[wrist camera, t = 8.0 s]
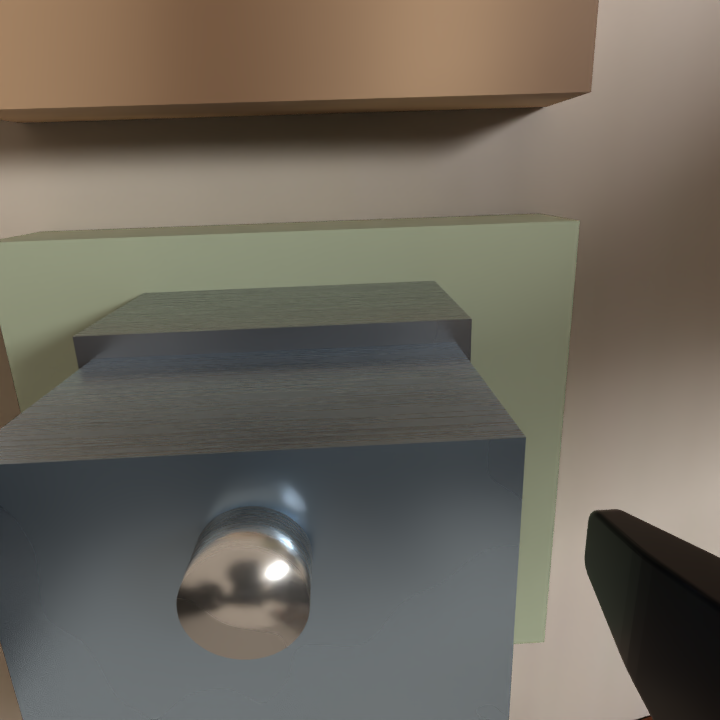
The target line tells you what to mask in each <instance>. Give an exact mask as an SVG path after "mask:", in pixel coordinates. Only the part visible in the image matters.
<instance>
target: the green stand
mask: <svg viewBox="0 0 720 720" xmlns="http://www.w3.org/2000/svg"><path fill="white" fill-rule="evenodd" d="M579 225H580V221H578V220H573V219H567V218H562V217H556V216H550V215H545V214H514V215H487V216H459V217H432V218H404V219H377V220H350V221H322V222H295V223H267V224H240V225H212V226H185V227H158V228H130V229H103V230H75V231H48V232H37V233H31V234H26V235H21V236H15V237H10V238H4V239H0V326H1V331H2V335H3V339H4V343H5V348H6V352H7V356H8V360H9V365H10V369H11V373H12V377H13V382H14V386H15V390H16V394H17V399H18V403H19V407H20V411H21V413H22V412H23V411H25V410H26V409H27V408H29V407H30V406H31V405H33V404H34V403H35V402H37V401H38V400H39V399H41V398H42V397H43V396H45V395H46V394H47V393H49V392H50V391H51V390H53V389H54V388H55V387H57V386H58V385H59V384H61V383H62V382H63V381H64V380H66V379H67V378H68V377H70V376H71V375H72V374H74V373H75V372H76V371H78V370H79V368H78V362H77V357H76V352H75V347H74V342H73V336H74V335H76V334H78V333H79V332H81V331H83V330H84V329H86V328H87V327H89V326H91V325H92V324H94V323H96V322H97V321H99V320H101V319H102V318H104V317H105V316H107V315H109V314H110V313H112V312H114V311H115V310H117V309H119V308H120V307H122V306H123V305H125V304H127V303H128V302H130V301H132V300H133V299H135V298H137V297H138V296H140V295H141V294H143V293H154V292H178V291H201V290H225V289H249V288H273V287H296V286H320V285H344V284H367V283H391V282H415V281H435V282H436V283H437V284H438V285H439V286H440V287H441V288H442V289H443V290H444V291H445V292H446V293H447V294H448V295H449V296H450V297H451V298H452V299H453V300H454V301H455V302H456V303H457V304H458V305H459V306H460V307H461V308H462V309H463V310H464V311H465V312H466V313H467V314H468V316H469V317H470V318H471V319H472V331H471V364H472V365H473V366H474V368H475V369H476V370H477V372H478V373H479V374H480V376H481V377H482V378H483V380H484V381H485V383H486V384H487V385H488V387H489V388H490V389H491V391H492V392H493V393H494V395H495V396H496V397H497V399H498V400H499V401H500V403H501V404H502V406H503V407H504V408H505V410H506V411H507V412H508V414H509V415H510V416H511V418H512V419H513V420H514V422H515V423H516V424H517V426H518V427H519V429H520V430H521V431H522V433H523V434H524V435H525V437H526V447H525V463H524V480H523V496H522V512H521V528H520V545H519V561H518V577H517V594H516V610H515V626H514V642H513V644H523V643H540V642H544V638H545V626H546V614H547V602H548V591H549V579H550V567H551V555H552V543H553V532H554V520H555V508H556V496H557V485H558V473H559V461H560V449H561V437H562V426H563V414H564V402H565V390H566V379H567V367H568V355H569V343H570V331H571V320H572V308H573V296H574V284H575V273H576V261H577V249H578V237H579Z"/></svg>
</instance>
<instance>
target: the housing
mask: <svg viewBox="0 0 720 720" xmlns="http://www.w3.org/2000/svg"><path fill="white" fill-rule="evenodd" d="M471 331H472V319H471V318H470V317H469V316H468V314H467V313H466V312H465V311H464V310H463V309H462V308H461V307H460V306H459V305H458V304H457V303H456V302H455V301H454V300H453V299H452V298H451V297H450V296H449V295H448V294H447V293H446V292H445V291H444V290H443V289H442V288H441V287H440V286H439V285H438V284H437V283H436V282H435V281H415V282H391V283H367V284H344V285H320V286H296V287H273V288H249V289H225V290H201V291H178V292H154V293H143V294H141V295H140V296H138V297H137V298H135V299H133V300H132V301H130V302H128V303H127V304H125V305H123V306H122V307H120V308H119V309H117V310H115V311H114V312H112V313H110V314H109V315H107V316H105V317H104V318H102V319H101V320H99V321H97V322H96V323H94V324H92V325H91V326H89V327H87V328H86V329H84V330H83V331H81V332H79V333H78V334H76V335H74V336H73V342H74V347H75V352H76V357H77V362H78V368H79V370H78V371H76V372H75V373H74V374H72V375H71V376H70V377H68V378H67V379H66V380H64V381H63V382H62V383H61V384H59V385H58V386H57V387H55V388H54V389H53V390H51V391H50V392H49V393H47V394H46V395H45V396H43V397H42V398H41V399H39V400H38V401H37V402H35V403H34V404H33V405H31V406H30V407H29V408H27V409H26V410H25V411H23V412H22V413H21V414H19V415H18V416H17V417H16V418H14V419H13V420H12V421H10V422H9V423H8V424H6V425H5V426H4V427H2V428H1V429H0V642H1V645H2V649H3V652H4V656H5V659H6V663H7V666H8V670H9V673H10V677H11V680H12V684H13V687H14V690H15V694H16V697H17V701H18V704H19V708H20V711H21V715H22V718H23V720H509V708H510V691H511V675H512V659H513V642H514V626H515V610H516V594H517V577H518V561H519V545H520V528H521V512H522V496H523V480H524V463H525V447H526V437H525V435H524V434H523V433H522V431H521V430H520V429H519V427H518V426H517V424H516V423H515V422H514V420H513V419H512V418H511V416H510V415H509V414H508V412H507V411H506V410H505V408H504V407H503V406H502V404H501V403H500V401H499V400H498V399H497V397H496V396H495V395H494V393H493V392H492V391H491V389H490V388H489V387H488V385H487V384H486V383H485V381H484V380H483V378H482V377H481V376H480V374H479V373H478V372H477V370H476V369H475V368H474V366H473V365H472V364H471Z"/></svg>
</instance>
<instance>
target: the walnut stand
mask: <svg viewBox="0 0 720 720" xmlns="http://www.w3.org/2000/svg"><path fill="white" fill-rule="evenodd" d="M598 2H599V0H0V120H5V121H11V122H17V123H28V122H61V121H94V120H127V119H160V118H193V117H226V116H259V115H292V114H325V113H358V112H391V111H424V110H457V109H490V108H523V107H547V106H550V105H553V104H556V103H559V102H562V101H565V100H568V99H571V98H574V97H577V96H580V95H583V94H586V93H589V92H591V84H592V72H593V61H594V49H595V37H596V25H597V14H598Z"/></svg>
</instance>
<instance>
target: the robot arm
mask: <svg viewBox="0 0 720 720" xmlns="http://www.w3.org/2000/svg"><path fill="white" fill-rule="evenodd" d="M585 566H586V570H587V574H588V576H589V579H590V581H591V584H592V586H593V589H594V591H595V594H596V596H597V598H598V601H599V603H600V606H601V608H602V611H603V613H604V616H605V618H606V621H607V623H608V626H609V628H610V631H611V633H612V636H613V638H614V641H615V643H616V645H617V648H618V650H619V653H620V655H621V657H622V660H623V662H624V664H625V667H626V669H627V671H628V673H629V675H630V677H631V679H632V681H633V683H634V685H635V687H636V688H637V690H638V692H639V694H640V696H641V698H642V700H643V702H644V704H645V705H646V707H647V709H648V711H649V713H650V715H651V717H652V719H653V720H720V558H719V557H717V556H715V555H713V554H711V553H709V552H707V551H705V550H703V549H701V548H699V547H697V546H694V545H692V544H690V543H688V542H686V541H684V540H682V539H680V538H678V537H676V536H674V535H672V534H670V533H667V532H665V531H663V530H661V529H659V528H657V527H655V526H653V525H651V524H649V523H647V522H645V521H643V520H640V519H638V518H636V517H634V516H632V515H630V514H628V513H626V512H624V511H622V510H618V509H611V510H596V511H593V512H592V513H591V514H590V517H589V520H588V529H587V539H586V548H585Z"/></svg>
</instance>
